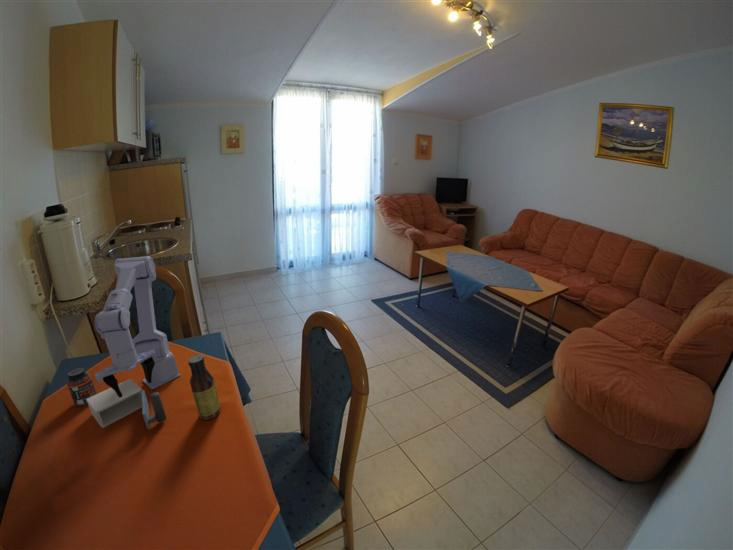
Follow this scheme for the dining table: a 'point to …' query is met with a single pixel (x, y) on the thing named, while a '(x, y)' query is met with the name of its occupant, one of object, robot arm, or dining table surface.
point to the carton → (115, 403)
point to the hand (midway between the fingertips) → (134, 388)
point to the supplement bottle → (80, 386)
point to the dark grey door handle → (157, 407)
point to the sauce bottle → (203, 389)
